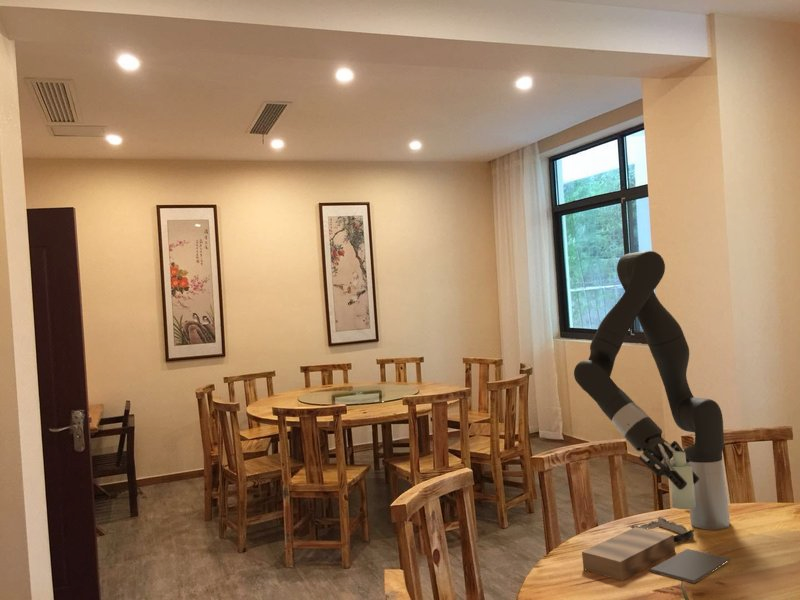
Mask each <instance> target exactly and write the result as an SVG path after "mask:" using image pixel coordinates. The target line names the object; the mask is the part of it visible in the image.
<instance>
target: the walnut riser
mask: <svg viewBox="0 0 800 600" xmlns="http://www.w3.org/2000/svg"><path fill="white" fill-rule="evenodd" d="M638 527H639V526H638ZM638 527H635V528H630V529H628V530H626V531H624V532H621V533H619V534H617V535H615V536H613V537H611V538H609V539H606V540H604V541H602V542H600V543H598V544H596V545H594V546H591V547H590V548H587V549H585V550H583V551H581V556H582V567H583V570H584V569H586V570H585V571H587V570H589V571H588V572H591V571H592V573H594V574H599V575H602V576H606V577H609V578H612V579H616V580H619V581H624V580H626V579H628V578H629V577H631V576H633V575H635V574H637V573H639V572H641V571H642V570H644V569H646V568H648V567H650V566H652V565H654V564H655V563H658V562H660V561H661V560H663V559H665V558H666V557H669V556H670V555H672V554H675V552H676V546H675V544H674V536H675V535H674V534H671V533H667V532H662V531H658V530H652V529H643V528H638Z"/></svg>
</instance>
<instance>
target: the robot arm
mask: <svg viewBox="0 0 800 600" xmlns="http://www.w3.org/2000/svg"><path fill="white" fill-rule="evenodd" d="M665 271H666V263H665V260H664V259H663V257H662V256H661V254H659V253H658V252H656V251H652V250H643V251H637V252H629V253H626V254H624V255H622V256H621V257H620V258H619V260H618V262H617V265H616V273H617V277H618V281H619V282H620V284H621V286H622V288H623V290H624V292H623V295H622V296H621V297H620V298H619V300H618V301H617V302H616V303H615V304H614V306H612V308H611V309H610V310H609V311H608V313H607V314H606V315H605V316H604V317H603V319H602V320H601V322H600V323H599V325H598V328H597V329H596V332H595V333H594V335H593V338H592V340H591V342H590V345H589V349H590V353H589V354H590V355H589V357H588V359H585V360H582V361H579V362H578V363H577V364H576V366H575V367H574V370H573V377H574V380H575V381H576V382H575V383H577V384H578V386H580V389H582V390H583V391H584V392H585V393H587V394H588V396H589V397H591V399H593V400H594V401H595V403H596V404H597V405H598V407H599V408H600V410H601V411H602V412H603V413H604V415H605V416H606V417H608V418H609V420H610V421H611V422H612V424H613V425H614V426H615V428H616V430H617V431H619V432H620V434H621V435H622V436H623V438H625V439H626V441H628V442H629V444H630V445H631V446H632V447H633V448H634V450H636V451H637V452H642V453H641V454H640V455H639V457H638V459H639V460H640V461H641V462H642V463H643V464H644V465H645V466H646V467H648V468H649V469H650V470H651V471H652V472H653V473H654V474H656V475H657V476H658V477H662V476H664V478H668V480H669V481H670V480H671V481H672V482H673V483H674V485H675V486H676V487H677V488H678V489H679V490H681V489H683V488H684V487H685V486H686V485H687V483H686V481H685V480H684V479H683V478H682V477H681V476H680V475H679V474H678V473H677V472H676V471H674V468H673V467H672V465H671V464H674V460H673V452H675V451H683V452H685V455H686V464H689V465H692V472H693V483H694V493H695V503H696V507H695V508H693V509H689V517H690V524H691V525H692V526H693V527H694V528H697V529H702V530H709V531H710V530H712V531H713V530H715V531H717V530H724V529H727V528H729V527H730V522H731V520H730V513H729V503H728V492H727V487H726V478H725V469H724V461H723V450H724V447H725V440H724V439H725V438H724V437H725V436H724V434H725V433H724V421H723V420H724V417H723V413H722V410H721V407H720V405H719V404H718V402H716V401H715V400H713V399H710V398H705V397H703V398H702V397H695V396H694V395H693V392H692V391H691V389H690V385H689V383H688V379H687V378H688V377H687V371H688V365H689V361H690V360H689V359H690V348H689V345H688V342H687V339H686V336H685V334H684V330H683V329H682V327H681V325H680V324H679V322H678V321H677V319H676V318H675V317H674V316H673V315H672V314H671V312H669V310H667V309H666V308H665V306H664V305H663V304H662V303H661V301H660V300H659V298H658V297H657V294H656V293H655V289H656V288H657V287H658V285H659V284H660V282H661V281H662V279H663V277H664V275H665ZM636 319H637V320H638V323H639V324H640V326H641V329H642V331H643V334H644V337H645V340H646V344H647V346H648V348H649V351H650V353H651V357H652V358H653V360H654V363H655V365H656V368H657V370H658V373H659V376H660V379H661V381H662V384H663V386H664V390H665V393H666V398H667V400H668V404H669V405H668V406H669V408H670V412H671V416H672V418H673V421H674V423H675V425H676V426H677V427H678V428H679V429H681V430H682V431H685V432H688V433H694V443H693V444H690V445H688V446H685V448H684V449H683V448H682V447H681V445H680V444H679V443H678V441H676V440H673V442H668V441H667V440H666V439H664V438H663V437H662V434H663V430H662V428H661V427H659V425H657V424H656V422H655V421H654V420H653V419H652V418H651V417H650V416H649V415H648V414H647V413H646V412H645V411H644V410H643V409H642V408H641V407H640V406H638V405H637V403H635V401H633V400H632V399H631V398H630V396H629V395H628V394H626V392H625V391H623V390H622V389H621V388H620V387H619V386H618V384H616V383H615V381H614V380H613V379H612V378H611V375H612V372H613V370H614V365H615V360H616V357H617V355H618V354H619V351H620V350H621V348H622V346H623V344H624V341H625V339H626V338H627V337H626V336H628V332H629V331H630V329H631V327H632V326H633V323H634V322H635V321H636Z"/></svg>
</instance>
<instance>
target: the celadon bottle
mask: <svg viewBox="0 0 800 600" xmlns="http://www.w3.org/2000/svg"><path fill="white" fill-rule="evenodd" d="M683 451H684V450H683ZM683 451H675V452H673V457H672V459H673V460H674V464H671V465H672V467H673V468H674V471H676V472H677V473H678V474H679V475H680V476H681V477H682V478H683V479H684V480H685V481H686V483H687V485H686V486H685V487H684V488H683V489H681V490H679V489H678V488H677V487H676V486H675V485H674V483H673V482H672V481H671V480H670V479H669V483H670V491H671V492H670V493H671V503H672V504H671V505H672V507H673V508H675V509H679V510H690V509H693V508H695V507H696V503H695V493H694V483H693V472H692V465H689V464H686V455H685V452H683Z"/></svg>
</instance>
